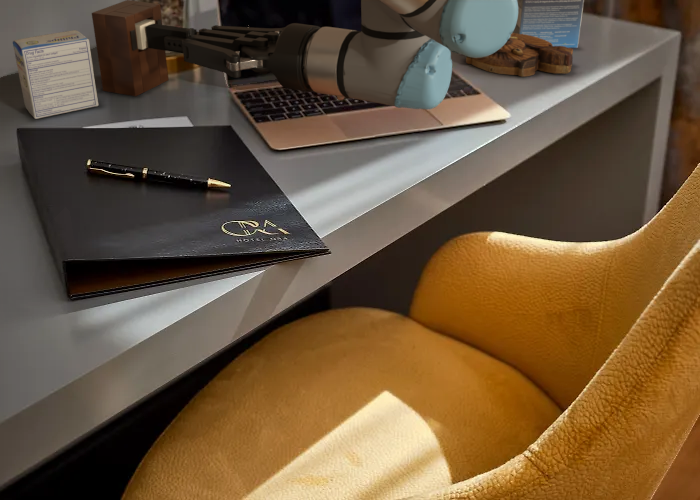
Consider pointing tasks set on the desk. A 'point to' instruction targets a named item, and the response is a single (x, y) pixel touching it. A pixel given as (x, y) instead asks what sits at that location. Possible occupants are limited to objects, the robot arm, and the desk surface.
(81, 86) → the medicine box
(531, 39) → the wooden carving
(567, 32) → the label tape box
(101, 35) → the key box
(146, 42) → the ivory key
